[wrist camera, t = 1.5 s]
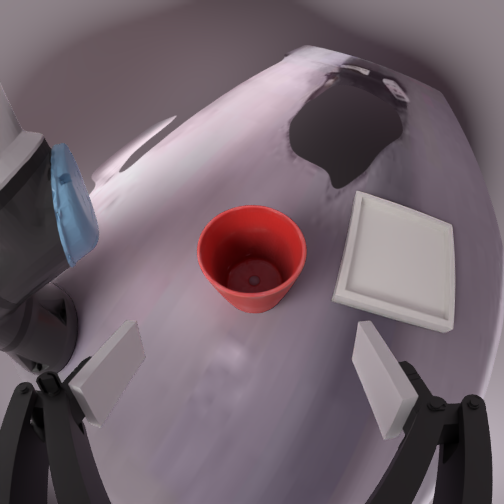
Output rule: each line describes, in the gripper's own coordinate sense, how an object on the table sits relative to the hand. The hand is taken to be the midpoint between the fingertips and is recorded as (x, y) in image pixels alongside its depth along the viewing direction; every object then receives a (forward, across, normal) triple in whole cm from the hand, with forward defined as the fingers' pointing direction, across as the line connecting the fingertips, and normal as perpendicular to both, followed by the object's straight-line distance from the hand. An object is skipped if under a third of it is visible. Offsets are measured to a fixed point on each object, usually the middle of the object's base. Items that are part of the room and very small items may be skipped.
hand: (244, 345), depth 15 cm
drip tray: (+22, +21, -2) cm, 30 cm away
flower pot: (+20, 0, -4) cm, 20 cm away
